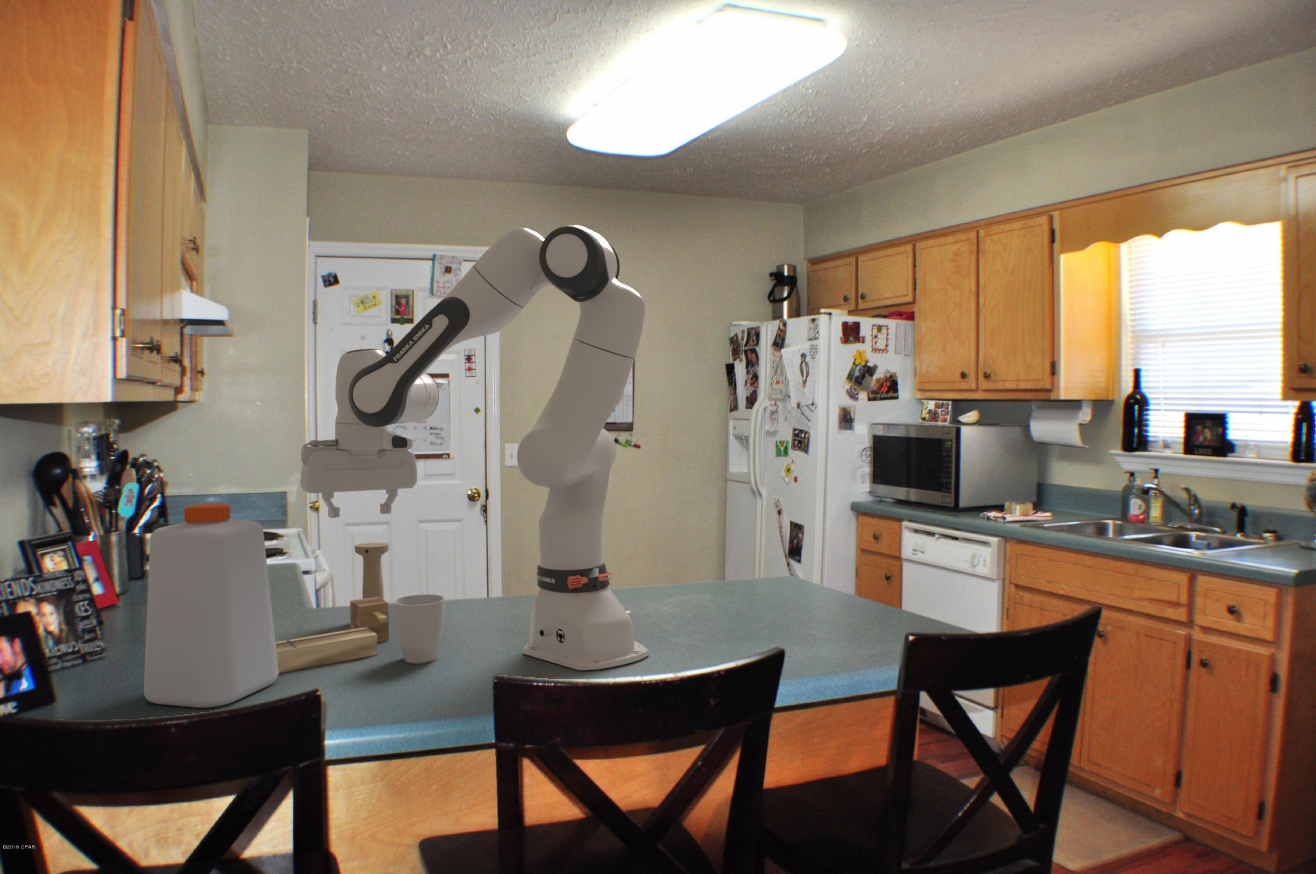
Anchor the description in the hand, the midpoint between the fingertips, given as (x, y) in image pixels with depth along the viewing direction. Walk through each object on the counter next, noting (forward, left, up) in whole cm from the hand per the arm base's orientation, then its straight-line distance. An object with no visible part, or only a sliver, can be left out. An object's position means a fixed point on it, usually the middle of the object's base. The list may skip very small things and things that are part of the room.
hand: (360, 515), depth 154 cm
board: (-9, +9, -23) cm, 26 cm away
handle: (+12, -6, -23) cm, 27 cm away
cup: (-19, -4, -23) cm, 30 cm away
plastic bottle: (-15, +27, -23) cm, 38 cm away
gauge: (-4, -1, -23) cm, 23 cm away
